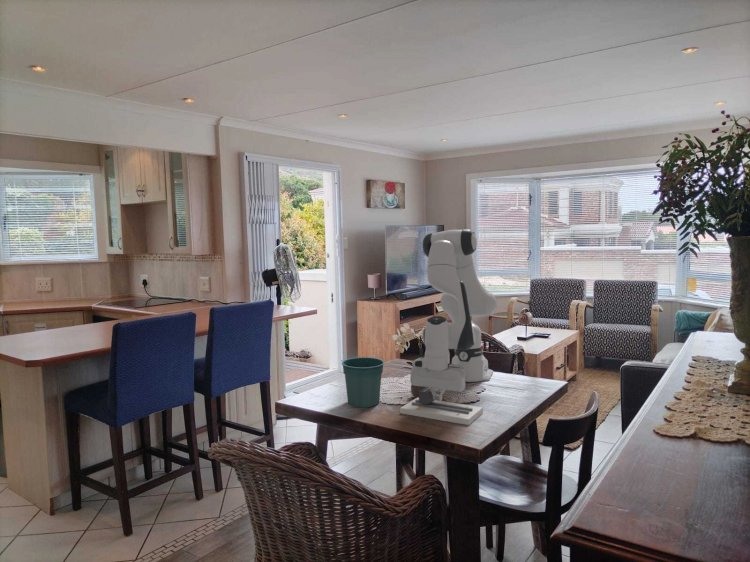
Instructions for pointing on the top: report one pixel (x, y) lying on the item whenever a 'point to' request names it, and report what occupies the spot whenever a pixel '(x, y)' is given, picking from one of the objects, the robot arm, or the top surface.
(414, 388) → the vase
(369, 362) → the flower pot
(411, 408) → the white slider track base
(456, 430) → the top surface
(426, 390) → the fader tab
